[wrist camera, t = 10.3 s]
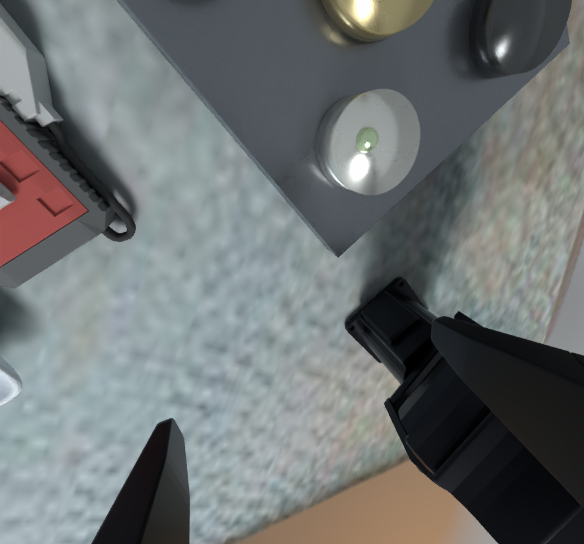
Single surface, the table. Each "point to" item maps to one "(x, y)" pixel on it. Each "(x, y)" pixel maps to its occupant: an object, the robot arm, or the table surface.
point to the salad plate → (8, 382)
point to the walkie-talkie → (42, 171)
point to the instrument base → (351, 91)
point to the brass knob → (375, 16)
